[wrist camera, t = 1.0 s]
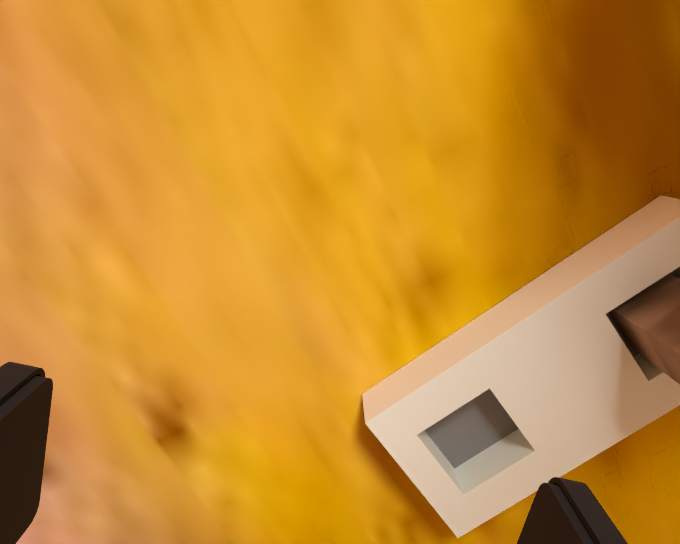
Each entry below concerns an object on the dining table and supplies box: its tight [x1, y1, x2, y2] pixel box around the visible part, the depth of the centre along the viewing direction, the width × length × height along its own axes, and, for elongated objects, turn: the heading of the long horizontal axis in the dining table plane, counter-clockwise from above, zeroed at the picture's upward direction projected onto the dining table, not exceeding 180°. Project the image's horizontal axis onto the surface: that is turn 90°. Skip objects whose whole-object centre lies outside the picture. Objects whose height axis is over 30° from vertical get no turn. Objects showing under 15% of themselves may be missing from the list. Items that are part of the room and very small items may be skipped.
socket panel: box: [362, 195, 680, 538], centre depth 37 cm, size 24×11×4 cm, turn 126°
